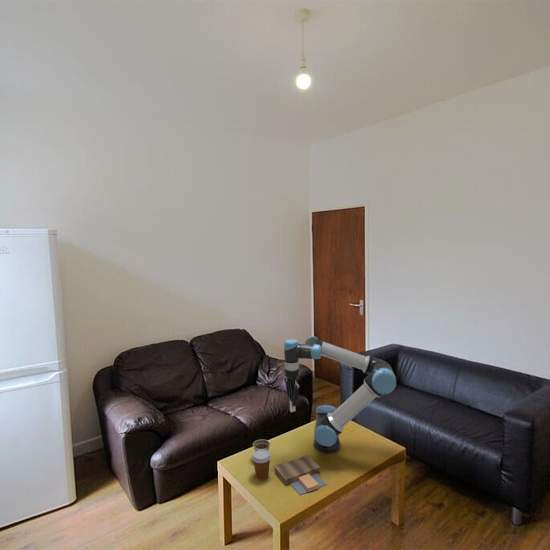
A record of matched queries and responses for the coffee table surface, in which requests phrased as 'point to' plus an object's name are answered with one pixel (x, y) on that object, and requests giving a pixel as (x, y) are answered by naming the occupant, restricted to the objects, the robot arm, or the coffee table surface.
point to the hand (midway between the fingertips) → (292, 411)
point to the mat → (302, 490)
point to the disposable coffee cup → (261, 463)
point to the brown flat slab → (296, 469)
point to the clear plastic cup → (261, 444)
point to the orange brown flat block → (308, 482)
